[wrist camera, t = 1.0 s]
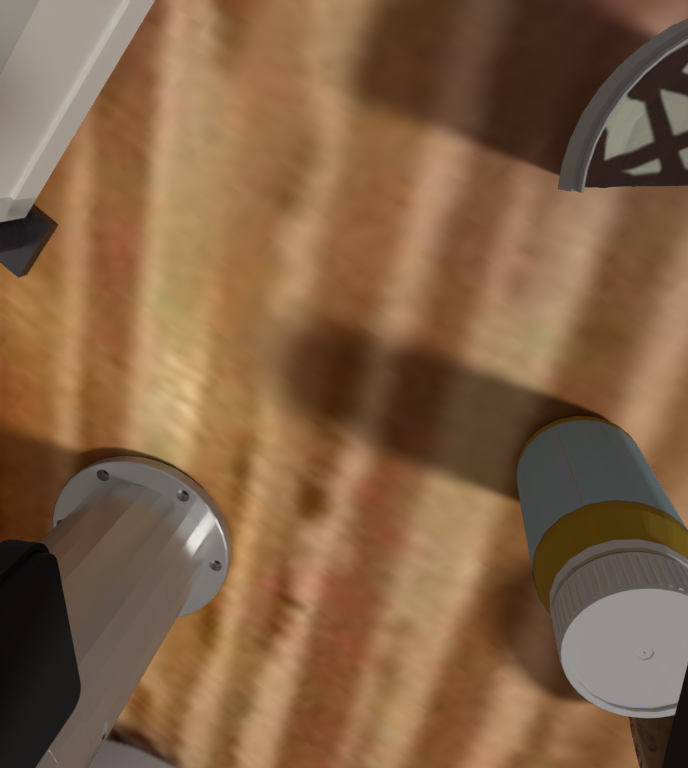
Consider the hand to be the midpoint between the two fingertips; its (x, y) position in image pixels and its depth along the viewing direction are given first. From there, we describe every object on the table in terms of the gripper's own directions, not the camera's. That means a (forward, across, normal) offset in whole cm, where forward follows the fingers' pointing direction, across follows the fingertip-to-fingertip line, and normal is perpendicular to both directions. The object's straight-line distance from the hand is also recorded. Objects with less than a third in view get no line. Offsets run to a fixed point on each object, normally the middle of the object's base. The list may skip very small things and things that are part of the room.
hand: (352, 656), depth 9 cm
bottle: (+28, -9, +11) cm, 31 cm away
